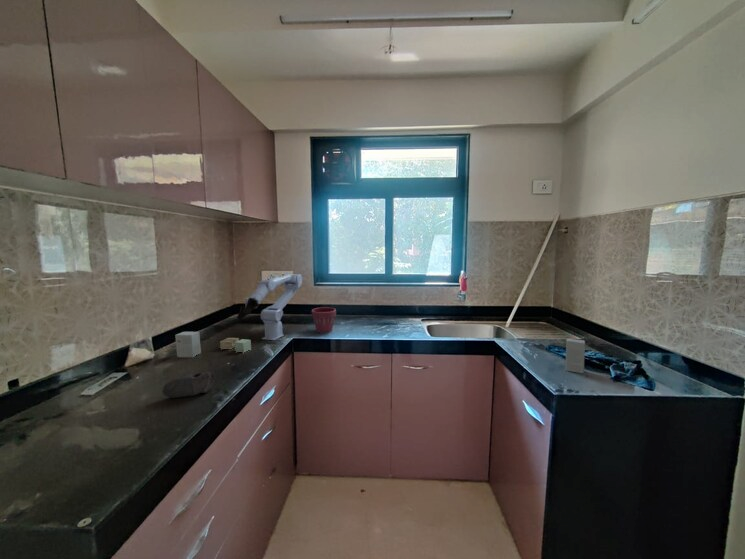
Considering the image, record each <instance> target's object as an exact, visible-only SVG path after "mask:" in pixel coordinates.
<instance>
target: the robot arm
mask: <svg viewBox="0 0 745 559" xmlns="http://www.w3.org/2000/svg"><path fill="white" fill-rule="evenodd" d="M283 283H284V289H285V291H284V292H283V293H282V294H281V296H280V297H279V298H278V299H277V300H276V301H275V302H274V303H273V304H272V305H269V306H267V307H266V308H264V309H262V310H261V312H260V320H261V321H262V322H263V323H264V336H263V337H261V340H266V341H267V340H268V341H275V340H278V339H280V338H281V337H283V336H285V334H284V333H283V323H282V321H281V319H282V317H283V315H284V311H283V309H284V308H285V307H286V306H287V304H288V303H289V302H290V301H291V300H292V299H293V298H294V296H295V294H296V293H297V291H298V289H299V288H300V287H301V286H302V285H303V276H302V274H300V273H298V274H297V273H296V274H295V273H294V274H292V273H291V274H289V273H287V274H283V275H281V276H277V275H273V276H272V277H269V278H267V279H262V280H259V281H258V285H257V286H256V289H255V290H254V291H253V292H252V293H251V295H250V296H249V297H245V298H244V301H245V307H244V306H243V305H241V306H240V309H239V312H238V314H237V317H236V319H238V320H239V321H242V320H243V319H244V318H245V317H247V316H249V315H250V314H252V313H253V312H252V311H253V310H254V309H257V308H258V307H260V304H261V303H262V301H263V299H265V297H266V296H267V295H268V293H269V292H273V291H274V290H275V289H276V288H278V287H281V285H282V284H283Z"/></svg>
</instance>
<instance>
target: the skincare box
mask: <svg viewBox="0 0 745 559" xmlns="http://www.w3.org/2000/svg"><path fill="white" fill-rule="evenodd" d="M565 343H566V344H565V366H564V367H565V368H564V369H565V371H567V372H573V373H577V374H584V371H585V353H586V341H585V340H583V339H575V338H566V342H565Z"/></svg>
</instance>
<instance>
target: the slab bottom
mask: <svg viewBox="0 0 745 559" xmlns="http://www.w3.org/2000/svg"><path fill="white" fill-rule="evenodd" d="M234 347H235V345H234V346H220V345H219V349H220V348H221V349H220V350H222V349H232V348H234ZM234 349H235V348H234ZM232 350H233V349H232Z"/></svg>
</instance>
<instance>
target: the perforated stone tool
mask: <svg viewBox="0 0 745 559" xmlns="http://www.w3.org/2000/svg"><path fill="white" fill-rule="evenodd" d="M214 383H215V373H214V372H213V371H205V372H198V373H191V374H188V375H183V376H181V377H178V378H175V379H173V380H172V379H171V380H170V381H169V382H167V383H165V384H164V386H163V388H162V394H163V396H166V397H167V398H172V399H173V398H175V399H176V398H181V397H184V398H187V396H188V397H193V396H194V395H195V396H197V395H200V394H201V393H202V394H205V393H208V391H210V390H211V389H212V387H213V386H214Z"/></svg>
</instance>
